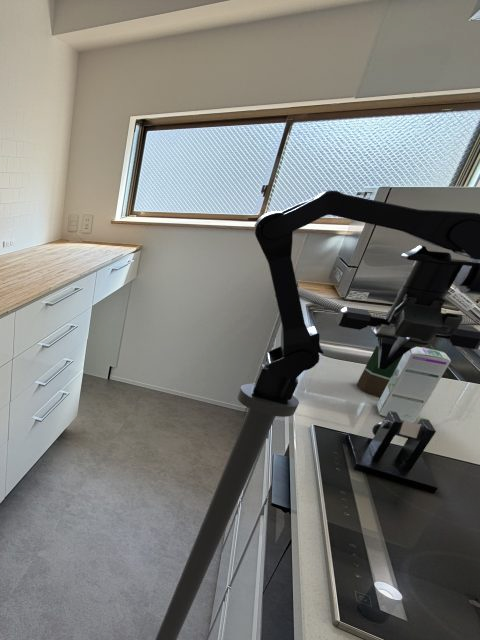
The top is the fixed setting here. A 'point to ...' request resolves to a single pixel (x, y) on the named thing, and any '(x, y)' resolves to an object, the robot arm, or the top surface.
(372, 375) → the beer bottle
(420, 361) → the syrup box
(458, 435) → the top surface
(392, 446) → the black two-post stand
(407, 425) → the lever
